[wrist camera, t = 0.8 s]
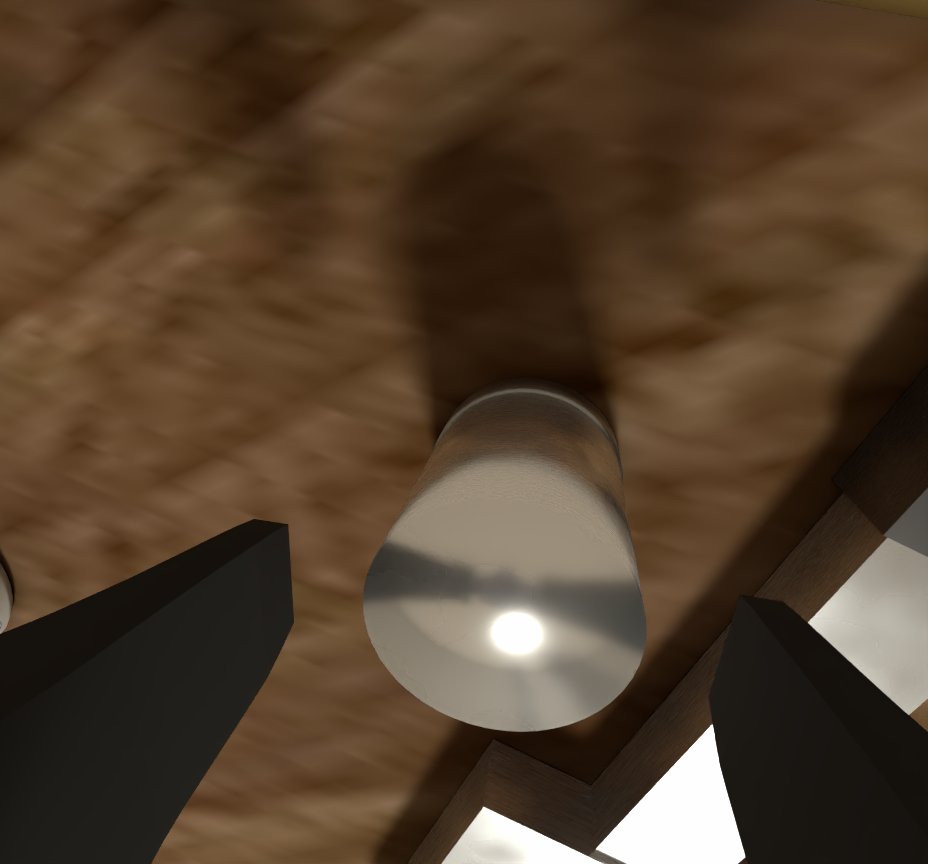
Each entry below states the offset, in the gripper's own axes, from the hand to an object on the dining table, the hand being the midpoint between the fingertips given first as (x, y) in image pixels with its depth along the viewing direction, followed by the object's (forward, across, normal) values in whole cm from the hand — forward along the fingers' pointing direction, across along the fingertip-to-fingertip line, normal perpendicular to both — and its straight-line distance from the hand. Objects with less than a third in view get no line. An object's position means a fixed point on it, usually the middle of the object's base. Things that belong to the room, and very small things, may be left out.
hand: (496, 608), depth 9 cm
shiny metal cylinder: (+6, 0, 0) cm, 6 cm away
